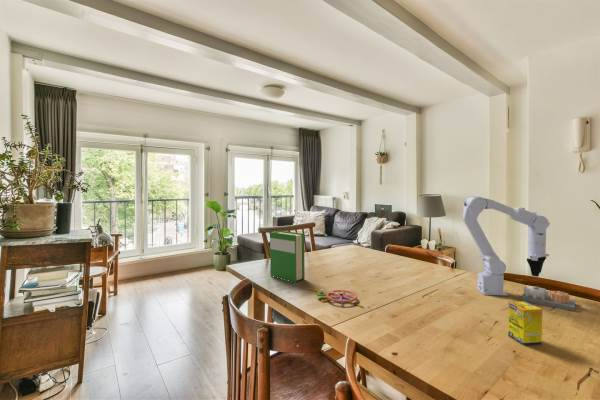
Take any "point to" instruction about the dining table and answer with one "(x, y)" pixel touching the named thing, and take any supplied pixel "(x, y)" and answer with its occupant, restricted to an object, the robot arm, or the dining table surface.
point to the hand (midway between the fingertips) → (536, 274)
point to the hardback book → (287, 255)
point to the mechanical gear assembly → (338, 296)
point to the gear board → (545, 298)
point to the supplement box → (525, 323)
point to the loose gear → (559, 297)
